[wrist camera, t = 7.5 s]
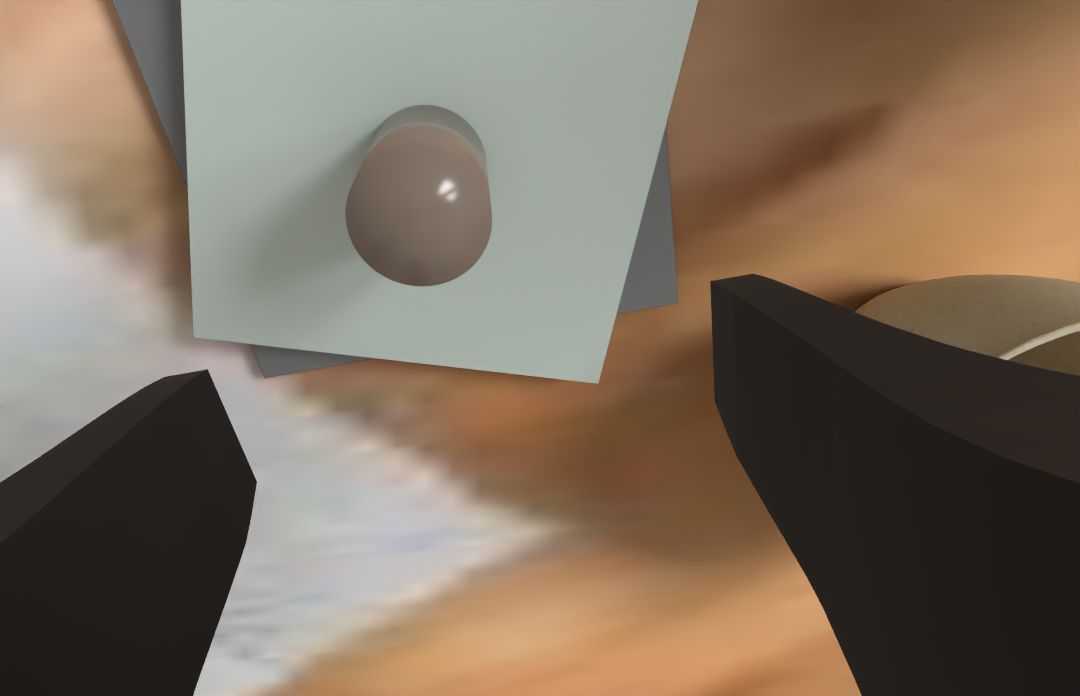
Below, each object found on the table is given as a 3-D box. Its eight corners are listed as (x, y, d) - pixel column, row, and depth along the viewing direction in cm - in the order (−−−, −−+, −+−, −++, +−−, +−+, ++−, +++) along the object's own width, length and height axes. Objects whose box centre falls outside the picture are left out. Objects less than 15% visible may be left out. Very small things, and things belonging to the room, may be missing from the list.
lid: (699, -43, 17) (778, -37, 13) (593, 369, 22) (624, 471, 18) (188, -156, 15) (81, -193, 11) (202, 323, 20) (134, 424, 16)
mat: (642, -155, 16) (646, -157, 16) (674, 297, 21) (678, 303, 21) (96, -57, 16) (88, -57, 16) (267, 371, 21) (264, 378, 21)
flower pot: (849, 525, 27) (968, 705, 20) (681, 360, 23) (766, 522, 16) (1108, 350, 24) (1337, 496, 18) (970, 126, 20) (1204, 212, 14)
